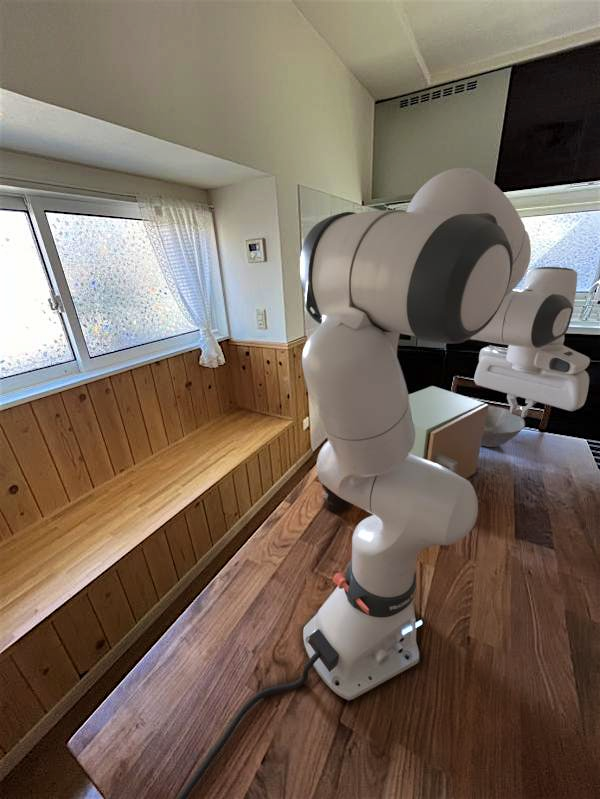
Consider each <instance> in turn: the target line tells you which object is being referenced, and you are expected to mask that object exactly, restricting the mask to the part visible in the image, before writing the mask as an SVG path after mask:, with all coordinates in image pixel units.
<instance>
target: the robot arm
mask: <svg viewBox="0 0 600 799" xmlns="http://www.w3.org/2000/svg"><path fill="white" fill-rule="evenodd" d="M531 254H532V246H531V240H530V235H529V233H528V231H527V228H526V226H525V224H524V222H523V220H522V218H521V216H520V215H519V212H518V211H517V210H516V207H515V206H514V205H513V203H512V202H511V201H510V199H509V197H507V195H506V194H505V193H504V192H503V191H502V189H500V187H498V185H497V184H495V183H494V182H493V181H492V180H491V179H490V178H489V177H488V176H486V174H484V173H483V172H481V171H479V170H477V169H474V168H472V167H454V168H450V169H447V170H445V171H441V172H440V173H438V174H436V175H435V176H433V177H432V178H430V179H429V180H427V181H426V182H425V183H424V184H423V185H422V186H421V187H420V188H419V189H418V190H417V191H416V193H415V194H414V196H413V197H412V199H411V201H410V202H409V204H408V206H407V209H406V211H404V210H401V209H382V210H371V211H370V210H369V211H362V212H354V211H345V212H341V213H337V214H333V215H331V216H328V217H326V218H324V219H322V220H321V221H319V222H317V223H316V224H315V225H314V226H313V227H312V228H311V229H310V230H309V231H308V233H307V234H306V237H305V239H304V241H303V244H302V248H301V251H300V259H299V261H300V262H299V275H300V282H301V287H302V289H303V293H304V295H305V296H304V308H305V309H306V311H307V313H308V314H309V315H310V317H311V318H312V319H313V320H314V321H315V322H317V323H318V324H319V327H318V328H316V329H315V330H314V331H313V332H312V333H311V334H310V336H309V337H308V339H307V340H306V342H305V343H304V346H303V349H302V353H301V366H302V371H303V378H304V382H305V385H306V390H307V394H308V396H309V399H310V402H311V405H312V407H313V410H314V413H315V416H316V417H317V420H318V422H319V424H320V427H321V428H322V430H323V432H324V433H325V436H326V439H327V441H326V442H324V444H323V445H322V447H321V448H320V450H319V452H318V455H317V459H316V466H315V467H316V474H317V478H318V480H319V482H320V483H321V485H322V484H324V485H325V486H326V487H327V488H328V489H330V490H331V491H332V492H333V493H335V494H336V495H337V496H339V497H340V498H342V499H343V500H345V501H347V502H348V504H351V505H353V506H354V507H355V506H356V507H357V508H359V509H361V510H363V511H365V512H367V513H369V514H371V515H369V516H368V517H366V518H364V519H362V520H361V521H360V522H358V524H357V525H356V527H355V529H354V531H353V532H352V536H351V558H350V561H349V562H348V564H347V568H346V572H345V575H344V574H342V572H337V573H336V574H335V575H334V577H332V581H333V583H334V584H335V585H336V587H335V589H334V590H333V591H332V593H330V595H329V596H328V598H327V599H326V600H325V601H324V603H323V604H322V605H321V607H319V609H318V611H317V612H316V614H315V615H314V616H313V617H312V618H311V619H310V620H309V621H308V622H307V623H306V625H305V626H304V627H303V631H302V638H303V639H302V640H303V644H304V648H305V651H306V654H307V656H308V658H309V659H308V661H307V662H306V663H305V665H304V667H303V670H302V676H301V677H300V678H298V679H296V680H295V681H292V682H290V683H285V684H280V685H276V686H271V687H267V688H265V689H263V690H261V691H259V692H257V693H256V694H254V695H253V696H252V697H251V698H250V699H249V700H248V701H247V702H246V703H245V704H244V705H243V706H242V708H240V710H239V711H238V713H237V714H236V715H235V717H234V718H233V720H232V721H231V723H230V724H229V725H228V728H227V729H226V730H225V732H224V733H223V735H222V737H220V739H219V740H218V742H217V743H216V745H215V746H214V747H213V749H212V750H211V752H210V753H209V754H208V755H207V757H206V758H205V760H204V761H203V762H202V764H201V765H200V766H199V768H198V769H197V771H195V774H194V775H193V776H192V778H191V779H190V781H189V782H188V783H187V785H186V786H185V787H184V788H183V790H182V792H181V793H180V794H179V795H178V796H177V798H176V799H188V797H189V796H190V794H192V791H193V790H194V789H195V787H196V786H197V784H198V783H199V781H200V780H201V779H202V777H203V776H204V774H205V773H206V771H207V770H208V768H209V767H210V766H211V764H212V763H213V762H214V760H215V759H216V757H217V756H218V755H219V753H220V752H221V750H222V749H223V748H224V746H225V745H226V743H227V742H228V740H229V739H230V737H231V736H232V734H233V733H234V731H235V729H236V728H237V727H238V725H239V723H240V722H241V721H242V719H243V718H244V716H245V715H246V714H247V713H248V711H249V710H250V709H251V708H252V707H254V705H255V704H257V703H258V702H260V701H261V700H263V699H264V698H267V697H269V696H272V695H275V694H279V693H283V692H287V691H291V690H294V689H298V688H300V687H302V686H303V685H304V684H305V683H306V682H307V680H308V678H309V671H310V670H311V668H312V667H313V668H314V669H315V670H316V672H317V674H318V675H319V677H320V678H321V680H322V681H323V682H324V683H325V685H326V686H328V687H329V689H330V690H331V691H332V692H334V693H335V694H336V695H338V696H339V697H341V698H342V699H345V700H346V701H351V700H355V699H356V698H359V697H360V696H362V695H363V694H365V693H368V691H371V690H372V689H374V688H376V687H378V686H380V685H382V684H383V683H386V682H387V681H389V680H390V679H392V678H394V677H395V676H397V675H400V674H401V673H403V672H404V671H406V670H408V669H410V668H412V667H414V666H415V665H417V664H418V663H419V662H420V650H419V647H418V643H417V632H418V631H417V630H418V629H417V628H418V627H420V626H421V625H423V621H422V619H420V620H418V621H416V613H415V612H416V611H415V605H414V604H415V603H414V598H415V594H416V590H417V572H416V567H417V563H418V562H417V561H418V558H419V555H420V553H421V552H422V551H423V550H425V549H427V548H430V547H434V546H435V547H436V546H451V545H454V544H457V543H459V542H460V541H461V540H463V539H464V538H466V537H467V536H468V535H469V534H470V533H471V531H472V530H473V528H474V527H475V524H476V522H477V519H478V515H479V500H478V496H477V493H476V490H475V488H474V486H473V484H472V483H471V481H470V480H468V479H464V478H463V477H461V476H459V475H458V474H456V473H454V472H453V471H451V470H449V469H447V468H445V467H444V466H442V465H440V464H437V463H434V462H432V461H429V460H426V459H423V458H420V457H417V456H415V455H412V454H410V452H411V450H412V448H413V445H414V442H415V427H414V422H413V416H412V411H411V406H410V400H409V391H408V387H407V383H406V379H405V376H404V372H403V370H402V369H403V368H402V366H401V364H400V360H399V358H398V345H399V340H400V335H406V336H411V337H415V338H417V339H419V340H420V341H422V342H428V343H436V344H462V343H464V342H467V341H480V342H486V343H493V344H499V345H505V346H507V348H506V347H499V346H495V345H487V346H485V347H483V348H481V349H480V351H479V355H478V364H477V366H476V370H475V373H474V377H473V381H474V383H475V385H476V386H479V387H482V388H487V389H490V390H493V391H497V392H500V393H504V394H507V395H506V400H507V403H508V405H509V411H510V412H509V413H511V414H514V415H517V416H520V417H522V418H523V419H524V418H526V417H527V416H528V414H529V410H530V409H531V408H532V407H534V406H535V405H536V404H537V403H540V404H543V405H548V406H550V407H555V408H558V409H561V410H564V411H568V412H575V411H576V410H580V409H581V408H582V407H583V406H584V405H585V402H586V400H587V396H588V392H589V386H590V376H589V373H588V372H587V371H586V369H587V368H588V367H589V365H590V362H591V358H590V357H589V356H587V355H585V354H582V353H581V352H578V351H576V350H574V349H572V348H570V347H568V346H565V345H564V342H565V334H567V332H568V330H569V327H570V323H571V320H572V316H573V313H574V306H575V300H576V295H577V287H578V272H577V271H576V270H574V269H572V268H569V267H559V266H538V267H534V268H532V269H530V270H528V269H529V265H530V263H531V256H532V255H531ZM527 271H528V272H527ZM526 272H527V274H526ZM525 275H526V276H525ZM524 277H525V279H524V282H523V283H522V287H521V290H520V289H516V288H517V286H518V285H519V284H520V283H521V281H522V280H523V278H524ZM312 310H313V311H314V313H313V311H312ZM518 397H519V398H522V399H525V402H524V403H525V404H526V405H525V406H522V405H519V404H518V401H517V398H518ZM406 657H407V658H408V659H407V658H406ZM336 683H338V685H336Z"/></svg>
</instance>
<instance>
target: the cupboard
mask: <svg viewBox="0 0 600 799" xmlns="http://www.w3.org/2000/svg"><path fill="white" fill-rule="evenodd" d="M408 395H409V400H410V406H411V411H412V416H413V422H414V427H415V442H414V445H413V448H412V450H411V452H410V454H412V455H415V456H417V457H420V458H423V459H426V453H427V444H428V436H430V434H431V432H432V431H434V430H436V429H438V428H440V427H442V426H444V425H446V424H448V423H450V422H451V421H453V420H455V419H457V418H459V417H461V416H463V415H465V414H467V413H469V412H471V411H473V410H474V409H476V408H478V407H480V406H482V405H484V404H485V402H483V401H480V400H477V399H474V398H471V397H468V396H465V395H462V394H459V393H456V392H453V391H450V390H446V389H444V388H440V387H437V386H434V385H430V386H428V387H426V388H423V389H420V390H418V391H415V392H413V393H408Z"/></svg>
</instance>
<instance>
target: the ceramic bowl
mask: <svg viewBox="0 0 600 799" xmlns="http://www.w3.org/2000/svg"><path fill="white" fill-rule="evenodd" d="M509 412H510V409H507V408H504V407H499V406H495V405H489V406H488V411H487V416H486V421H485V426H484V431H483V436H482V441H481V446H480V447H487V448H494V447H499V446H502V445H504V444H506V443H507V442H508V441H511V440H512V439H513V438H515V437H516V436H517V435H518V434H519V433H520V432H521V431H523V429H524V428H525V426H526V421H525V419H524V418H523V417H520V416H517V415H514V414H511V413H509Z"/></svg>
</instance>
